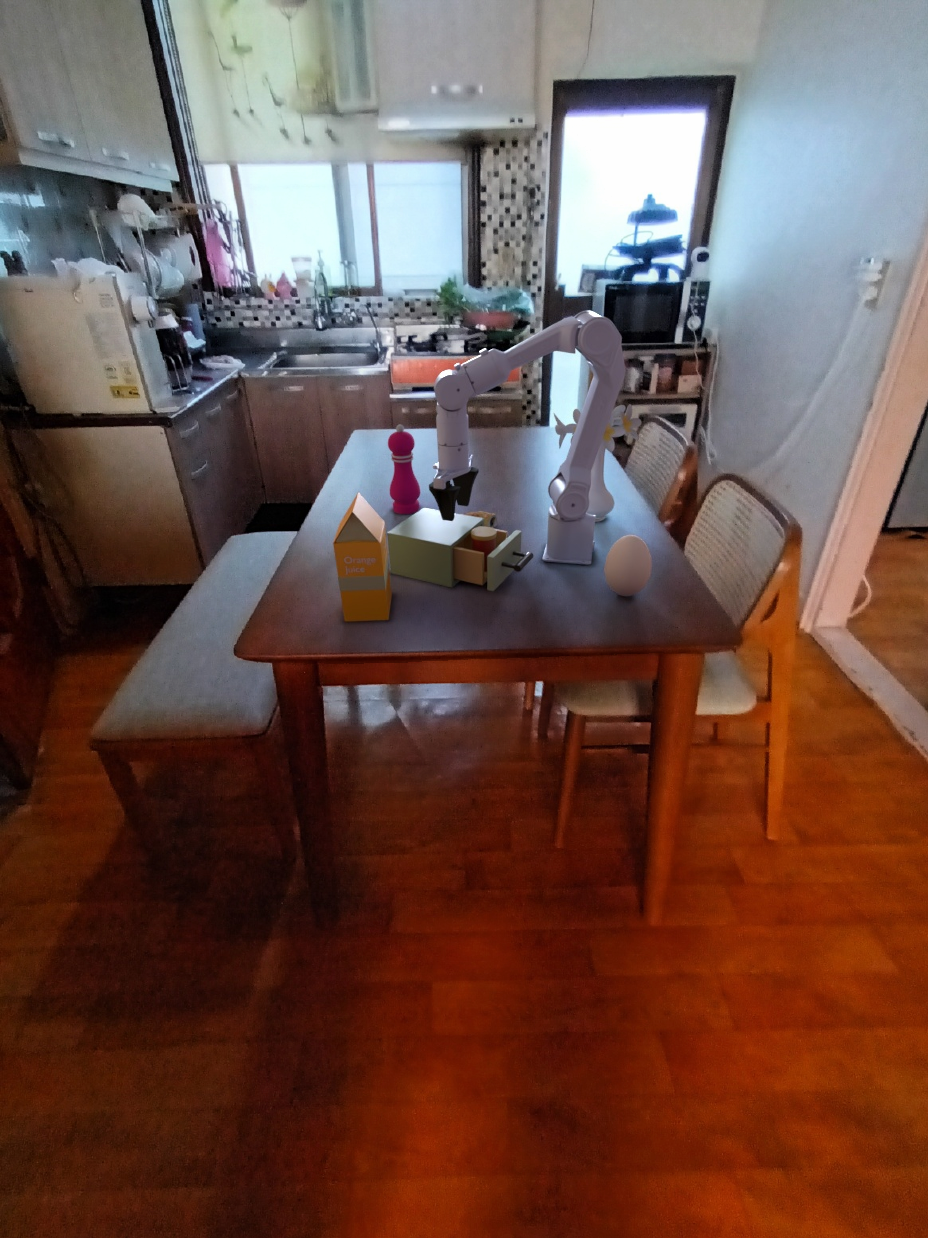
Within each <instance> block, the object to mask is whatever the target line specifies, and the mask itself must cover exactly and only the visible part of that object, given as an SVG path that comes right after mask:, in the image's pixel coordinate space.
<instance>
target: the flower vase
mask: <svg viewBox="0 0 928 1238" xmlns="http://www.w3.org/2000/svg"><path fill="white" fill-rule="evenodd" d="M580 415H581V411H580V410H579V408H574V409H573V411H572V419H573V423H568V424H566V425H565V424H564V422H563V421H562V420H561V419H560V418H559V417H558V416H557V414H556V413H555V412H553V417H554V419H555V421H556V422H555V423H556V425H555V426H554V430H555V433H556V435H558V436H559V438H558V448H559V449H561V448H562V445H563V442H564V440H565V438H566V437H567V434H571V435H572V436H571V438H570V443H571V442H572V439H573V436H574V433H575V430H576V427H577V424H578V421H579V418H580ZM640 426H642V419H640V418H639V417H633V406H632V404H627V408H626V405H624V404H620V405H618V406H616V407H615V408H613V411H612V413H611V416H610V419H609V422H608V425H607V427H606V430H605V433H604V436H603V439H602V442H601V444H600V447H599V450H598V453H597V456H596V458H595V461H594V464H593V467H592V470H591V488H590V491H589V508H588V510H587V512H586V513H588V514H592V515H596V519H595V523H598V522H602V521H604V520H605V519H606V518H607V515H609V514H610V513H611V512H612V511H613V510H614V507H615V499H614V496H613V494H612V493H611V492H610V491H609V490H608V489H607V486H606V483H605V477H604V475H605V473H604V472H605V471H604V469H605V457H606V456H605V454H606V451H608V452H610V453H612V452H614V451H615V447H616V444H615V440H614V438H619V437H622V436H625V437H628V436H629V435H630V436H631V437H632V438H633V439H634V440H635V441H639V440H640V437H639V434H638V432H637V431H636V430H635V429H636V428H640Z"/></svg>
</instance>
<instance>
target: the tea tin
mask: <svg viewBox="0 0 928 1238" xmlns="http://www.w3.org/2000/svg"><path fill="white" fill-rule="evenodd" d="M495 529H496V528H495V527H494V528H491V527H485V526H484V527H477V528H474V529H473V530H472V531H471V537H472V550H474V551H479V552H484V572H486V571H487V556H488V555H489V554H490V553H491V552H493V551H494V550H495V549H496V536H497V531H496V530H495Z"/></svg>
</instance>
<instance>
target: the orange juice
mask: <svg viewBox="0 0 928 1238" xmlns="http://www.w3.org/2000/svg"><path fill="white" fill-rule="evenodd" d="M386 531H387V530H386V522H385V520H384V519H383V518H382V517H381V516H380V515H379V513H378V512H377V511H376V510H375V509H374V508H373V507H372V506H371V505H370V503H369V502H368V501H367V500H366V498H364V496H363V495H362V494H361V493H360V491H358V492H357V494H356V495H355V497H354V499H353V500H352V502H351V504H350V505H349V507H348V509H347V510H346V512H345V513H344V515H343V517H342V519H341V521H340V522H339V524H338V527H337V530H336V534H335V536H334V539H333V543H332V545H333V552H334V559H335V565H336V566H335V567H336V572H337V580H338V587H339V592H340V600H341V606H342V612H343V613H342V614H343V618H344V619H343V620H344V622H366V621H367V622H368V621H389V619H390V611H391V603H392V596H393V594H392V592H393V591H392V584H391V571H390V558H389V550H388V540H387V532H386Z"/></svg>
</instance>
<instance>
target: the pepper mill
mask: <svg viewBox="0 0 928 1238" xmlns="http://www.w3.org/2000/svg"><path fill="white" fill-rule="evenodd" d="M395 430H396V431H394V432H392V433H390V435H389V436H388V439H387V448H388V449H389V451H390V452H391V454H390V456H391V461H392V462H393V476H392V480H391V482H390V485H389V496H390V498H391V499H392V500H393V502H392V509H393V512H394V513H396V514H400V515H410V514H415V513H417V512H418V511H420V501H419V500H418V499H419V497H420V496H421V486H420V484H419V481H418V479H417V477H416V475H415V473H414V470H413V469H414V468H413V460H414V453H413V450H414V448H415V445H416V444H415V439H414V436H413V435H412V434H411V433H410V432H409V431H405V427H404V424H400V423H399V424H398V425H396V427H395Z"/></svg>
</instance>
